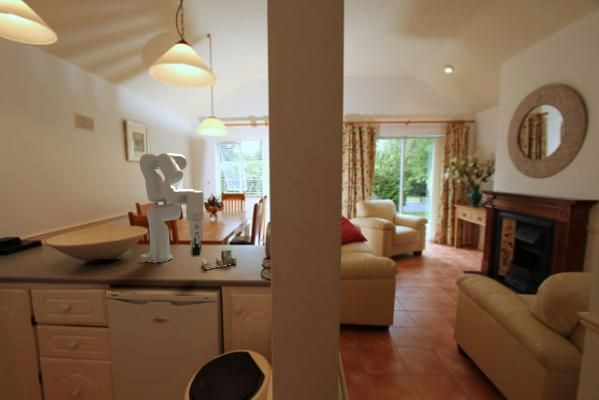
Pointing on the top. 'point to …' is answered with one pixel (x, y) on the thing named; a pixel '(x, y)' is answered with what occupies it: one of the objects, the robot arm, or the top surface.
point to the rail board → (221, 259)
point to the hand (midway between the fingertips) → (195, 253)
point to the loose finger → (192, 249)
